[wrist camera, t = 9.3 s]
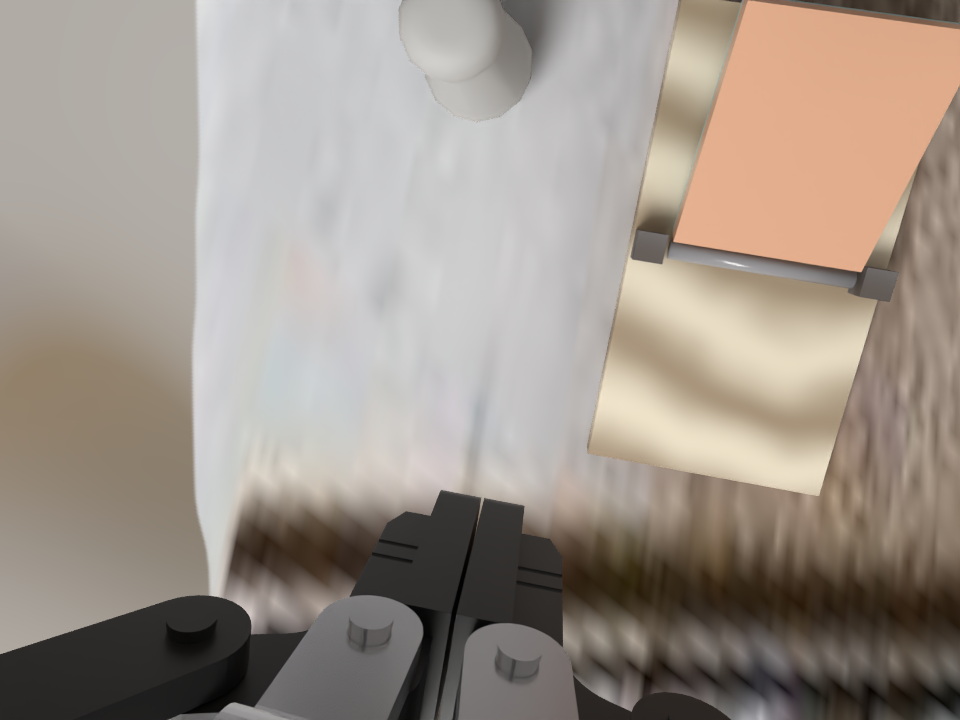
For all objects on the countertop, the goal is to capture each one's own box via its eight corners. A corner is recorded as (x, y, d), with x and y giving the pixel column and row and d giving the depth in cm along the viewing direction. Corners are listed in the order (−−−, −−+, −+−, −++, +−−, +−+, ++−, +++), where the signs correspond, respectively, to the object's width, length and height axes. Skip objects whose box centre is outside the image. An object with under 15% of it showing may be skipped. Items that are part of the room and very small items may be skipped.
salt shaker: (493, -7, 39) (462, -102, 26) (554, 80, 39) (552, 28, 27) (411, 63, 40) (345, 6, 27) (472, 146, 41) (434, 127, 28)
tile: (667, 262, 39) (666, 250, 40) (850, 292, 38) (845, 279, 39) (748, 0, 30) (744, -7, 31) (986, 33, 29) (975, 25, 30)
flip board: (678, 0, 38) (688, -14, 35) (945, 37, 37) (976, 25, 34) (587, 446, 44) (589, 463, 41) (811, 487, 43) (828, 507, 40)
